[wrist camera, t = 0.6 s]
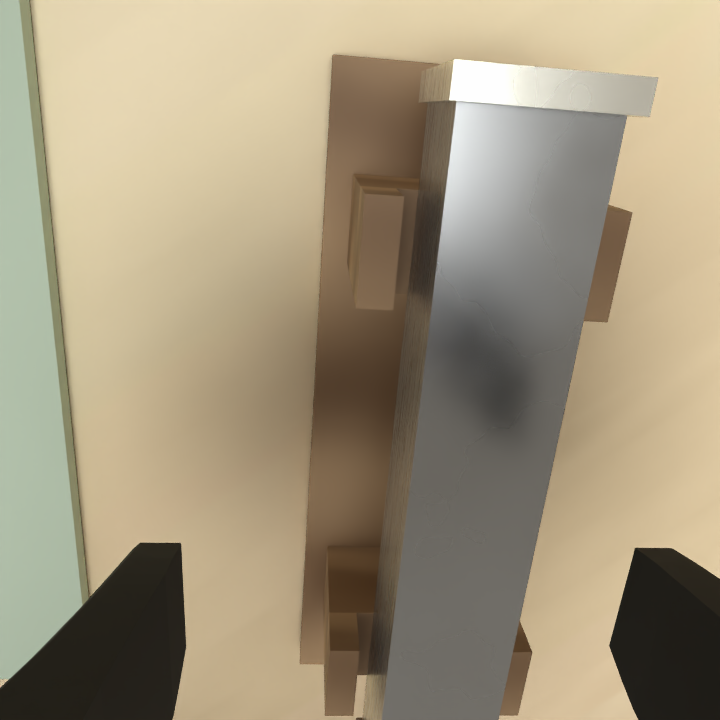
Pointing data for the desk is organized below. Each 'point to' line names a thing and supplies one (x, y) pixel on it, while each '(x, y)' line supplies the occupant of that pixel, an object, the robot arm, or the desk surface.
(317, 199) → the desk surface
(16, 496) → the mat
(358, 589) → the stand
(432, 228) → the rail
